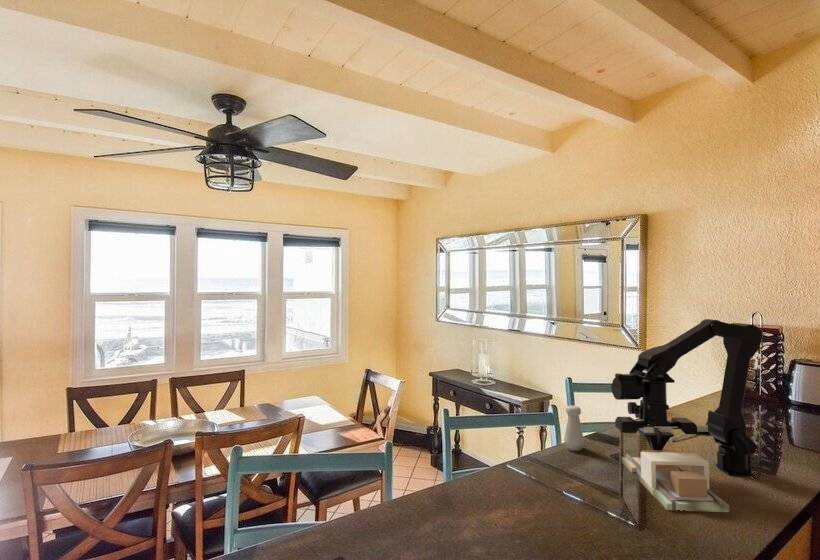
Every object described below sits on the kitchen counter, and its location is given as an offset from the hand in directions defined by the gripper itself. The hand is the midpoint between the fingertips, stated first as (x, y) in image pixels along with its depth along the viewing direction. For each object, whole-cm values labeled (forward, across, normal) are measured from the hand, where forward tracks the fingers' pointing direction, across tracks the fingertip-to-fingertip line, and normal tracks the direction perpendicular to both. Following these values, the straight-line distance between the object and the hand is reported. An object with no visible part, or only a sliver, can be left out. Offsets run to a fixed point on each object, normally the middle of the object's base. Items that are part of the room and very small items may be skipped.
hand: (655, 457), depth 117 cm
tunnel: (+2, 0, +10) cm, 10 cm away
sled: (+2, 0, +10) cm, 10 cm away
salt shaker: (+4, +17, -16) cm, 24 cm away
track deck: (+4, 0, +7) cm, 8 cm away
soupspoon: (+5, -24, -31) cm, 39 cm away
